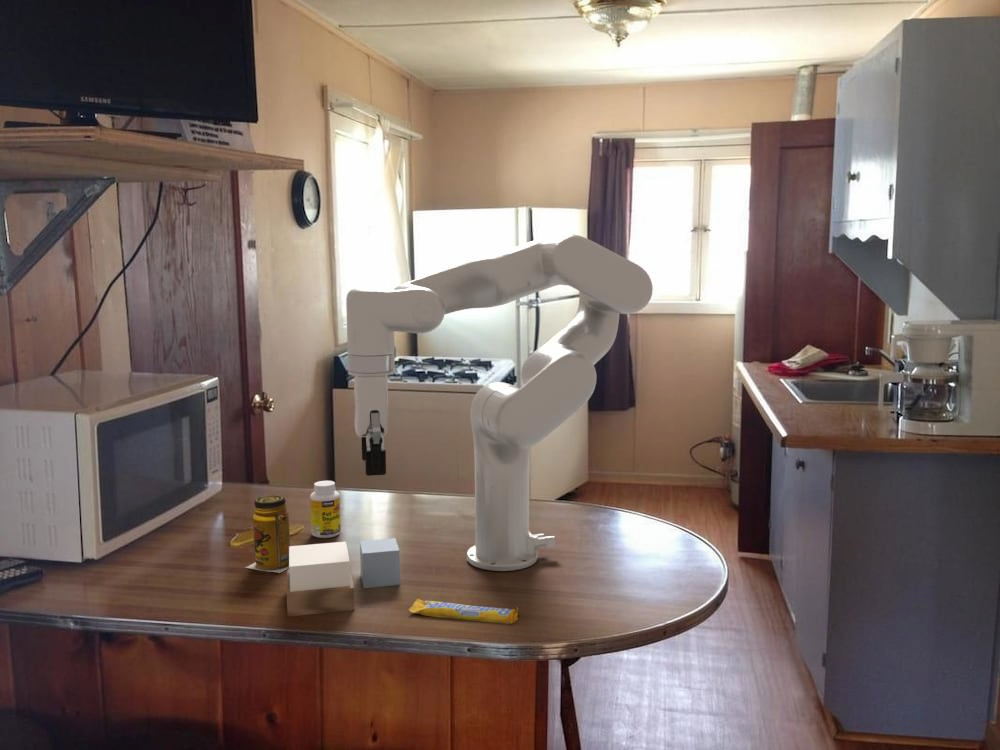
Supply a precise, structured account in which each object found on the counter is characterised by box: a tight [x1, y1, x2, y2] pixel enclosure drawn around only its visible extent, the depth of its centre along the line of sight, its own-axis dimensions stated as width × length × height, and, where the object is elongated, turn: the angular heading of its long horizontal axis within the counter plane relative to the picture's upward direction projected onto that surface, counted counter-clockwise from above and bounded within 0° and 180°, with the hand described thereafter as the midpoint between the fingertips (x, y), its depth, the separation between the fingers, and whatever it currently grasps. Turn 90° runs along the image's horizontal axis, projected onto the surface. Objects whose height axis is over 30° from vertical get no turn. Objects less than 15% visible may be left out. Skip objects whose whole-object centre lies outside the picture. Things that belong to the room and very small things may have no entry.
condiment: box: [244, 494, 291, 574], centre depth 150 cm, size 7×8×12 cm
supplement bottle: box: [309, 480, 341, 539], centre depth 165 cm, size 6×6×10 cm
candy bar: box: [408, 598, 519, 625], centre depth 130 cm, size 17×4×2 cm, turn 77°
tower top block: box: [288, 541, 351, 592], centre depth 135 cm, size 9×9×4 cm
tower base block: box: [286, 566, 356, 617], centre depth 135 cm, size 10×10×4 cm
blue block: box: [359, 537, 401, 589], centre depth 143 cm, size 6×6×6 cm
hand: (373, 467), depth 141 cm, fingers open, 9 cm apart
